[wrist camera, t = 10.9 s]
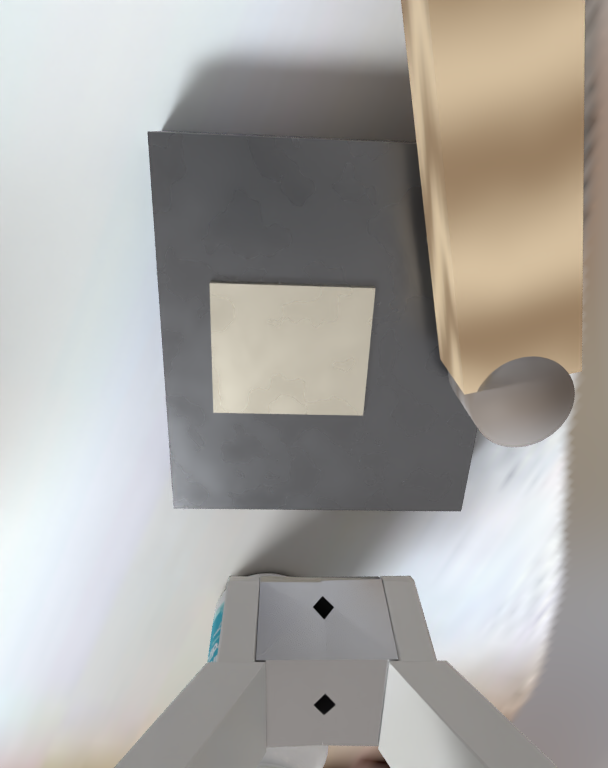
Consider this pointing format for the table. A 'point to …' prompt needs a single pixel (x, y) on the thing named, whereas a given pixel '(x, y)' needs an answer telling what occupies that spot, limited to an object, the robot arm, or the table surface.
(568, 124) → the tan bar
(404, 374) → the panel
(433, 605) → the table surface
